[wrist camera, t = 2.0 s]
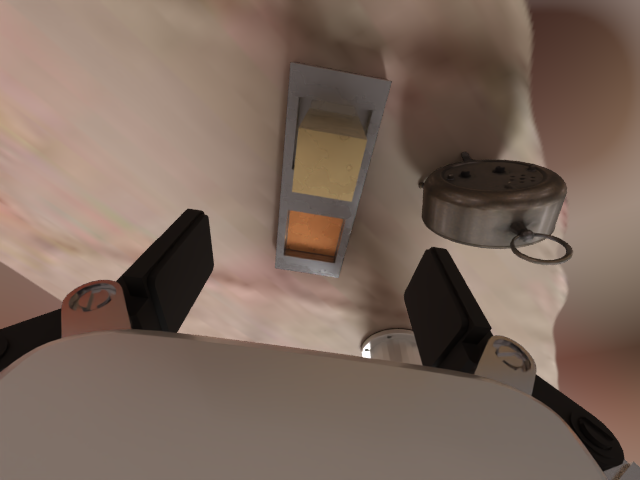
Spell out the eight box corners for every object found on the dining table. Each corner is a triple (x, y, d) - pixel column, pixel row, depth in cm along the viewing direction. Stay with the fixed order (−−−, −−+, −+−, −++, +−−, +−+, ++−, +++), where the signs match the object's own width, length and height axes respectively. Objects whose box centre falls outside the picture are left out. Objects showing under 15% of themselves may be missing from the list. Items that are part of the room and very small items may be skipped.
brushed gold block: (358, 116, 26) (367, 140, 19) (348, 165, 29) (351, 201, 22) (309, 107, 26) (298, 127, 18) (303, 157, 29) (291, 191, 21)
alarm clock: (408, 198, 32) (459, 297, 19) (410, 154, 29) (473, 235, 16) (505, 187, 30) (635, 287, 17) (517, 140, 27) (687, 216, 14)
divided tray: (387, 79, 25) (391, 81, 23) (338, 266, 39) (338, 277, 37) (294, 61, 25) (290, 62, 22) (278, 256, 38) (275, 268, 36)
